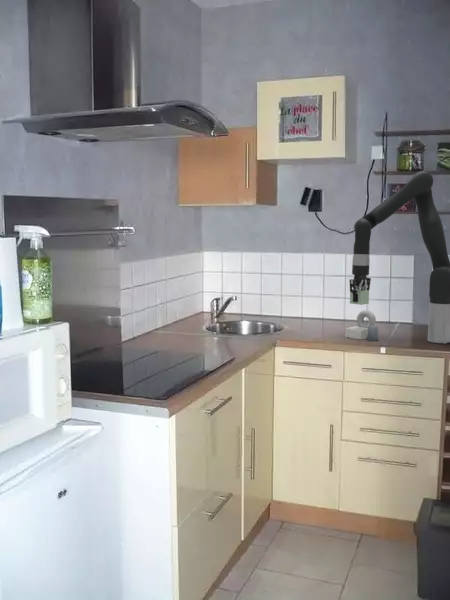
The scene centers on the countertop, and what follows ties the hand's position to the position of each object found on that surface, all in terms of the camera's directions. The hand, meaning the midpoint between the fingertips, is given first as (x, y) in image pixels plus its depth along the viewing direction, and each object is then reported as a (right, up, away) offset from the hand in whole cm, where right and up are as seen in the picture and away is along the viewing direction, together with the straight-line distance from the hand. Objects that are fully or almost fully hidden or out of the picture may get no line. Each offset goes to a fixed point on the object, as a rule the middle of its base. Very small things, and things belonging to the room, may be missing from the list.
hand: (359, 301), depth 293 cm
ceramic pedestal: (0, -16, +2) cm, 16 cm away
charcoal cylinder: (+5, -17, -4) cm, 18 cm away
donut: (+7, -14, +20) cm, 25 cm away
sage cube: (0, -1, 0) cm, 1 cm away
